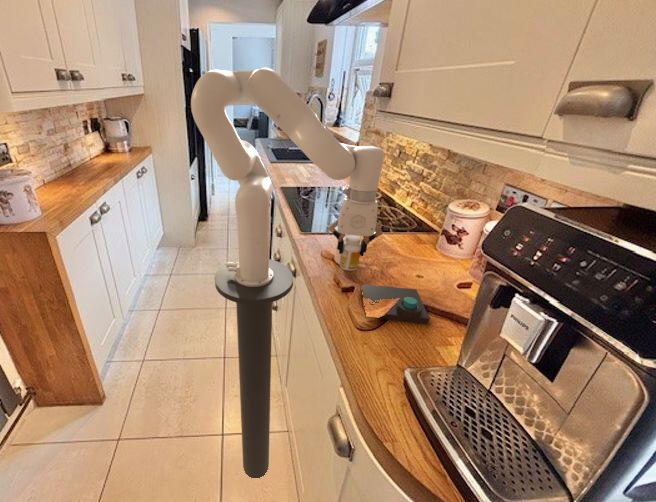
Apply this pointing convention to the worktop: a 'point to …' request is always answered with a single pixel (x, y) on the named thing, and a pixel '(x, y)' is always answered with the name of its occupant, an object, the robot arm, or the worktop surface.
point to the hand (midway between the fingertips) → (350, 252)
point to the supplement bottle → (350, 253)
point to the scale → (398, 310)
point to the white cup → (337, 255)
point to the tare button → (410, 303)
